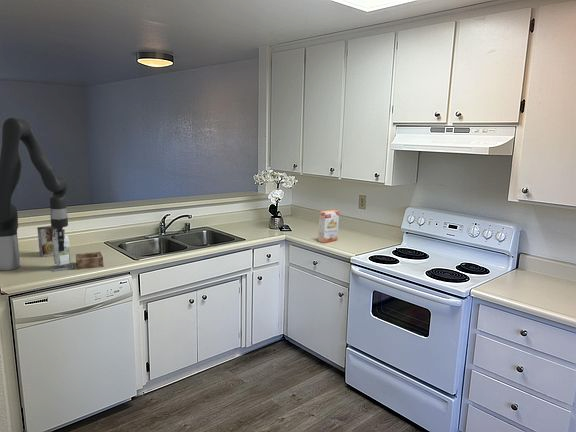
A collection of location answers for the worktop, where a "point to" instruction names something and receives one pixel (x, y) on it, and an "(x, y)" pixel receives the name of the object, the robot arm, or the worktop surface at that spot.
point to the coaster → (62, 267)
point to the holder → (89, 260)
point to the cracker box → (328, 226)
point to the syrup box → (61, 252)
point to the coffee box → (46, 240)
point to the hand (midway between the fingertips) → (61, 249)
